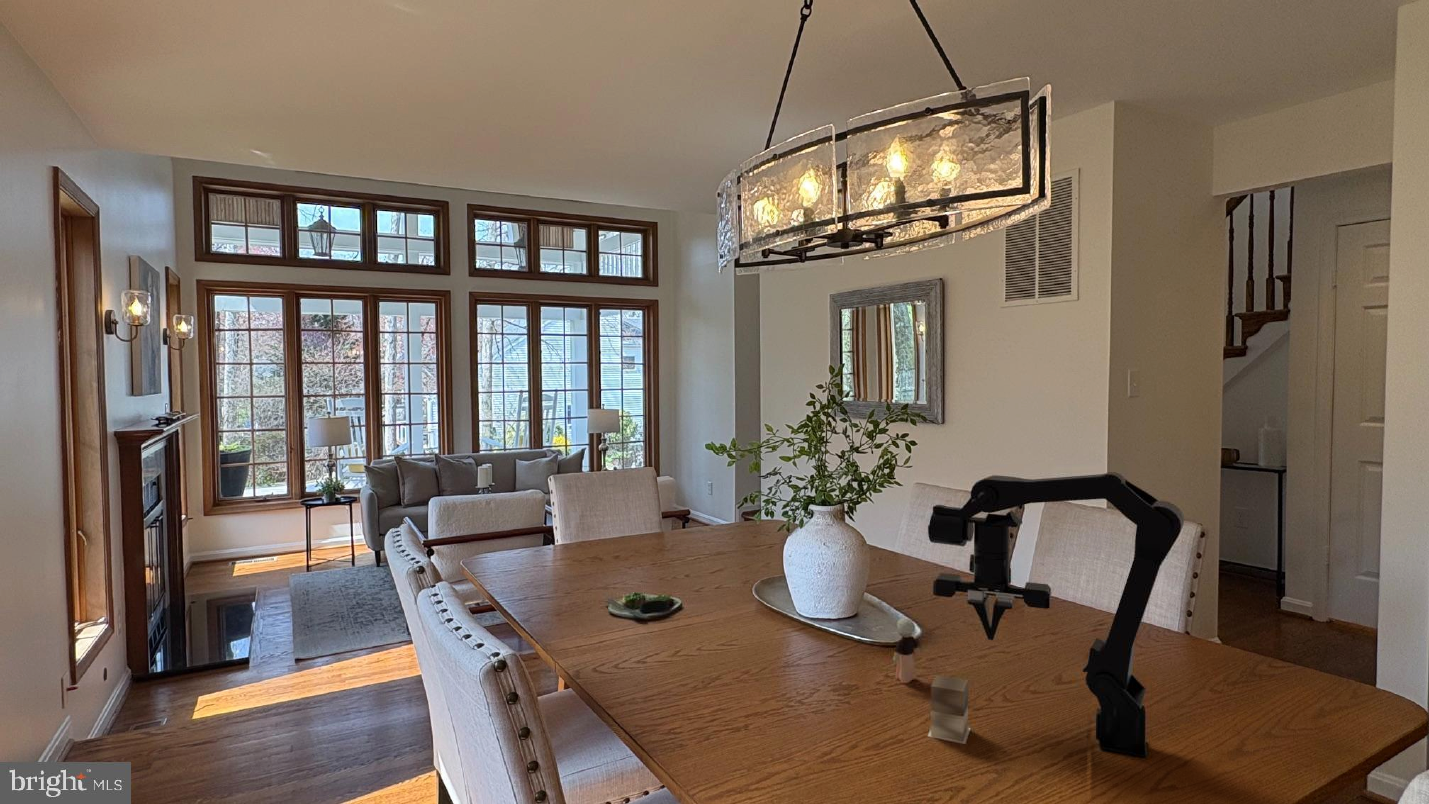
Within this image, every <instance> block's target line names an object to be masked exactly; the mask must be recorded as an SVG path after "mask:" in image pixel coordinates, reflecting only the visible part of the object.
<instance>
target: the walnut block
mask: <svg viewBox="0 0 1429 804" xmlns="http://www.w3.org/2000/svg"><path fill="white" fill-rule="evenodd" d="M930 685H931V686H930V712H931V711H935V712H941V713H946V714H951V715H957V716H962V717H964V714H965V712H966V709H967V706H968V707H969V680H968V679H963V678H956V677H951V676H943V675H939V674H938V675H936V676H935V678H934V680H933V682H932V683H931V684H930Z"/></svg>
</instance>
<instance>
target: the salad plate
mask: <svg viewBox="0 0 1429 804" xmlns="http://www.w3.org/2000/svg"><path fill="white" fill-rule="evenodd" d="M621 596H622V599H620V600H618V601H615V600H613V599H611V598H607V599H605V600H604V602H605V603H606V605H608V610H609V612H610V613H611V614H613V615H616V616H618V617H622V618H628V619H632V620H633V619H634V620H638V621H640V620H641V621H655V620H662V619H665V618H667V617H670V616H671V615H673V614H675V613H677V612H678V611H679V610H680V609H681V608H682V607H683V601H682V600H681V599H679V598H678V597H677V598H676V597H671V596H668V595H666V594H663V595H662V594H658V595H654V594H646V593H642V592H635V591H633V592H631V593H630V594H626V595H625V594H622V595H621Z"/></svg>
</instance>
